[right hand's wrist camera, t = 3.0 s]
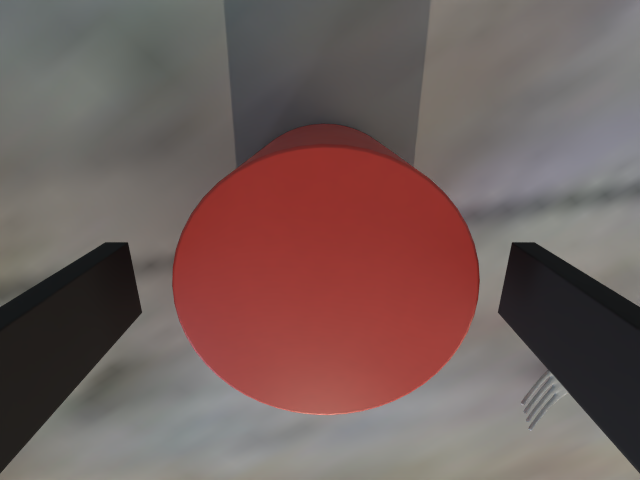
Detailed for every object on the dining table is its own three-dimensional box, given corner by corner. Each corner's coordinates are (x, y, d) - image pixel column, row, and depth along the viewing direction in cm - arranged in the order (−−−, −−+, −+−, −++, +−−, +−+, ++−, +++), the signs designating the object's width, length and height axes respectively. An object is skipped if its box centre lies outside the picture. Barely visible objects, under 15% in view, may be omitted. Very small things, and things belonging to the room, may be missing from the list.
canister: (272, 303, 20) (237, 438, 12) (213, 153, 17) (114, 200, 9) (423, 264, 19) (497, 384, 11) (389, 99, 16) (456, 96, 8)
